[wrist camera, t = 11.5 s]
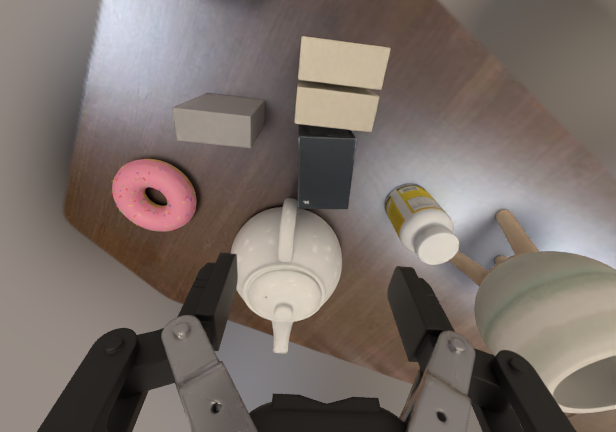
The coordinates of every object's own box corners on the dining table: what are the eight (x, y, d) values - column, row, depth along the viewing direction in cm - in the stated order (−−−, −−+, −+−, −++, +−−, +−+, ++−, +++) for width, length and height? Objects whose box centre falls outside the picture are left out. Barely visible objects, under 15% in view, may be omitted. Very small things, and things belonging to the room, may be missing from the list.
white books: (302, 41, 30) (301, 35, 20) (364, 49, 30) (391, 47, 21) (297, 103, 33) (294, 123, 24) (352, 110, 34) (371, 132, 24)
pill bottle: (393, 226, 43) (419, 278, 33) (377, 195, 40) (401, 242, 30) (432, 208, 41) (473, 257, 31) (419, 174, 38) (459, 216, 28)
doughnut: (145, 137, 35) (127, 147, 32) (215, 190, 39) (207, 204, 36) (109, 190, 39) (89, 204, 35) (176, 234, 43) (164, 250, 40)
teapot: (365, 250, 45) (386, 319, 34) (284, 299, 51) (278, 371, 40) (293, 170, 38) (288, 223, 26) (208, 238, 44) (173, 306, 32)
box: (337, 173, 38) (348, 211, 29) (298, 172, 38) (296, 209, 29) (343, 115, 34) (358, 138, 25) (299, 113, 34) (297, 136, 25)
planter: (520, 178, 39) (730, 302, 20) (544, 249, 46) (716, 391, 26) (416, 233, 44) (504, 374, 24) (452, 289, 50) (542, 434, 31)
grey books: (195, -55, 26) (140, -108, 17) (268, -44, 26) (250, -90, 18) (208, 118, 34) (176, 140, 25) (264, 124, 34) (250, 148, 26)
